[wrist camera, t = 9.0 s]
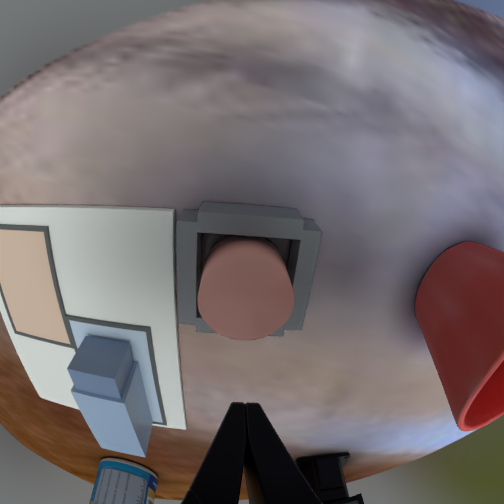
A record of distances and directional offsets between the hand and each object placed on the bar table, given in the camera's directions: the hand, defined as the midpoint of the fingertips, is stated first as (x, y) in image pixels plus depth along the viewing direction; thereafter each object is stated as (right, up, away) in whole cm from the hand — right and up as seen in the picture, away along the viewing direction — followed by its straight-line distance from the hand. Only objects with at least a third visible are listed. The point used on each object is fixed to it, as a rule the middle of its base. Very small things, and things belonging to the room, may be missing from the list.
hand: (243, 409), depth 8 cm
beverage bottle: (-16, -24, +21) cm, 36 cm away
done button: (0, +4, +9) cm, 10 cm away
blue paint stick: (-10, -6, +12) cm, 17 cm away
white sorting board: (-13, -2, +11) cm, 17 cm away
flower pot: (+16, +2, +11) cm, 19 cm away
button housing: (0, +4, +9) cm, 10 cm away
